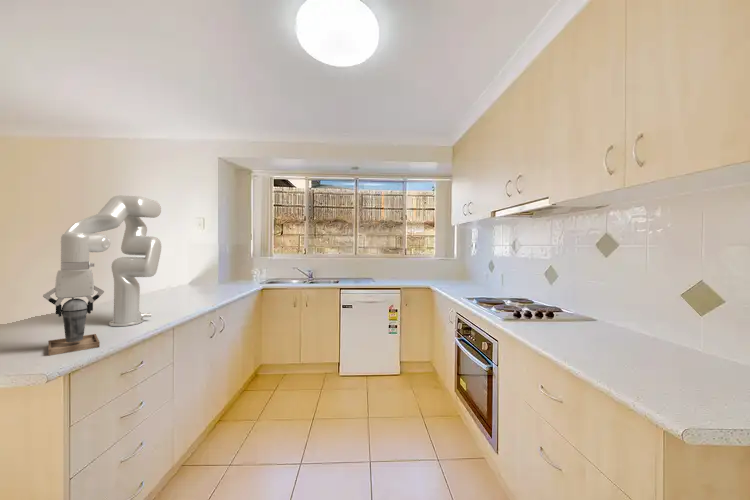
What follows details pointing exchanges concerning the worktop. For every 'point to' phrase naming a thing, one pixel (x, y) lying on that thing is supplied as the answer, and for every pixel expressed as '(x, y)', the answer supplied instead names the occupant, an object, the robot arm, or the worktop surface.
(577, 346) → the worktop surface
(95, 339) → the tray
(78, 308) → the beverage cup
